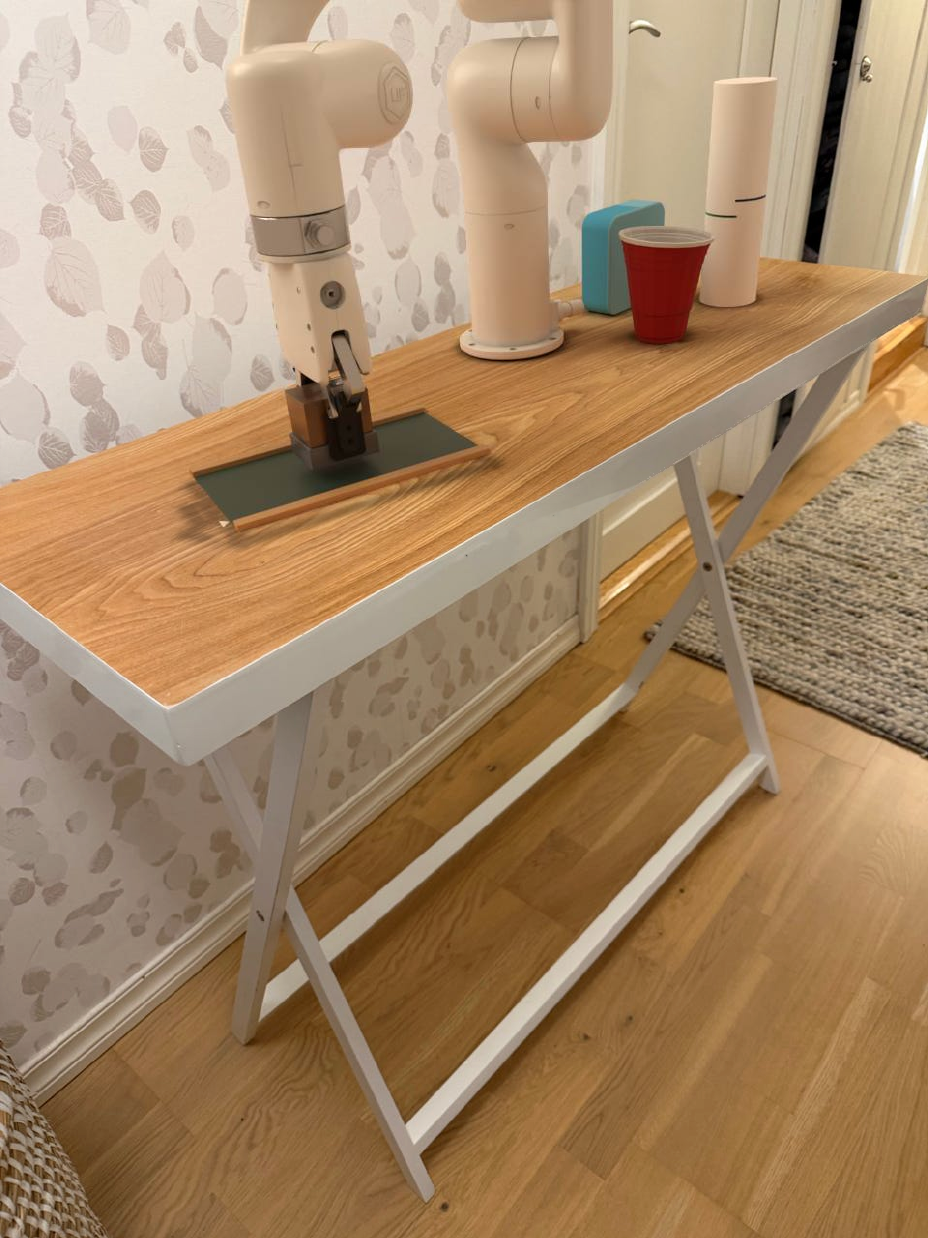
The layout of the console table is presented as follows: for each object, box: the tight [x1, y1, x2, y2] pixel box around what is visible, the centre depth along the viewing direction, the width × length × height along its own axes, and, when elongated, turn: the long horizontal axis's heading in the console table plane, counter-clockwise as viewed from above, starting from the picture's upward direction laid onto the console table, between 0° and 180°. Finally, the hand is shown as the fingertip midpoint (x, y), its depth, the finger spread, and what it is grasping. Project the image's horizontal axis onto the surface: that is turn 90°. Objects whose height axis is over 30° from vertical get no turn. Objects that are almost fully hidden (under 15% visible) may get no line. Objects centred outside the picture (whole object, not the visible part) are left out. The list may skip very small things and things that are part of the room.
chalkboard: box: [188, 403, 491, 533], centre depth 85 cm, size 24×14×2 cm, turn 120°
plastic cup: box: [619, 225, 715, 345], centre depth 108 cm, size 11×11×12 cm
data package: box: [581, 198, 666, 316], centre depth 120 cm, size 12×4×12 cm, turn 136°
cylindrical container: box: [698, 76, 779, 308], centre depth 115 cm, size 7×7×25 cm
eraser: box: [284, 375, 379, 471], centre depth 82 cm, size 5×6×6 cm
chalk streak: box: [218, 520, 231, 528], centre depth 77 cm, size 2×4×1 cm, turn 63°
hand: (335, 444), depth 84 cm, fingers closed on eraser, 5 cm apart
